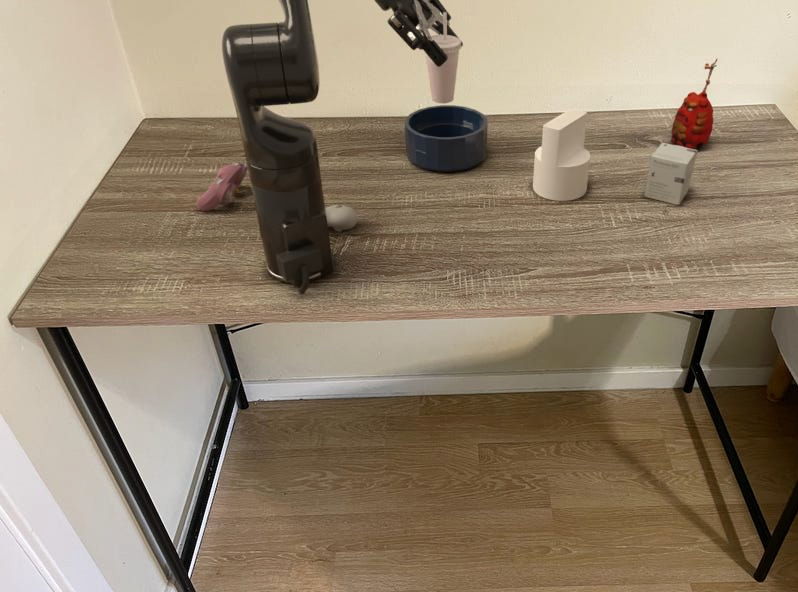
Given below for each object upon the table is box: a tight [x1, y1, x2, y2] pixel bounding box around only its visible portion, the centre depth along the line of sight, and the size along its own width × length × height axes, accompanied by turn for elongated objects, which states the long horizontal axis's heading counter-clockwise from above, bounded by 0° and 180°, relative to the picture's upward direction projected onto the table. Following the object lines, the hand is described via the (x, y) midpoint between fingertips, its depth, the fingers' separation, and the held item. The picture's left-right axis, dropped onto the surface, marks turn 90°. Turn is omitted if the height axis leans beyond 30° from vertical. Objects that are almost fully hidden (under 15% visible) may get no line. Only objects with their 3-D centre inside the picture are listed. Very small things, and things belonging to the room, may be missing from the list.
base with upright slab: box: [532, 107, 591, 202], centre depth 124 cm, size 9×9×12 cm
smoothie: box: [424, 12, 462, 104], centre depth 126 cm, size 6×6×14 cm
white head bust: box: [325, 204, 358, 233], centre depth 117 cm, size 4×8×5 cm
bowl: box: [404, 104, 488, 173], centre depth 135 cm, size 14×14×6 cm
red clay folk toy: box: [670, 57, 719, 150], centre depth 136 cm, size 8×7×15 cm
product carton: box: [643, 142, 698, 206], centre depth 124 cm, size 6×6×7 cm
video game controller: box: [195, 160, 248, 212], centre depth 123 cm, size 10×5×7 cm, turn 168°
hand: (451, 55), depth 125 cm, fingers closed on smoothie, 6 cm apart
